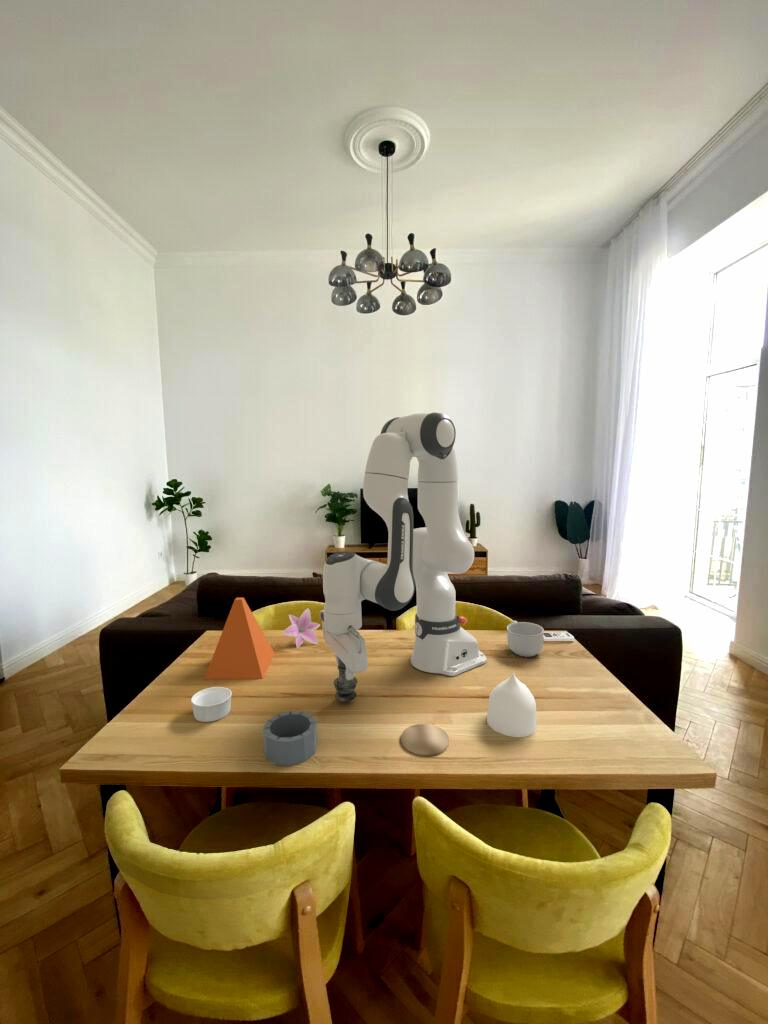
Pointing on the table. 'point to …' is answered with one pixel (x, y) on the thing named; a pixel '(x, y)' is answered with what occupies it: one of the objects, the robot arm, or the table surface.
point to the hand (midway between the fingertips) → (345, 674)
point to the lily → (302, 628)
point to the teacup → (525, 638)
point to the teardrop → (512, 709)
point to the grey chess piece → (344, 685)
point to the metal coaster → (425, 739)
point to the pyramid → (241, 647)
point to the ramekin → (211, 704)
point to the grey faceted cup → (290, 738)
